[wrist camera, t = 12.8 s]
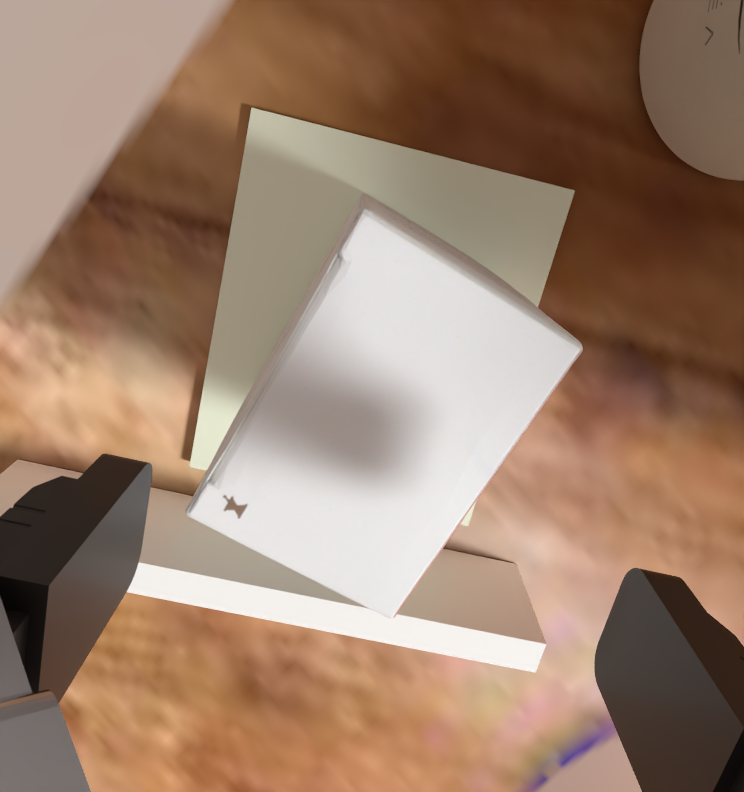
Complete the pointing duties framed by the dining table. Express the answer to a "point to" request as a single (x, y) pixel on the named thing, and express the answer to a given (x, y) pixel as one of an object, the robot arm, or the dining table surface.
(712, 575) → the dining table surface
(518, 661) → the white wall
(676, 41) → the travel mug
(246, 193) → the sage mat
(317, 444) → the small box
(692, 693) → the robot arm
